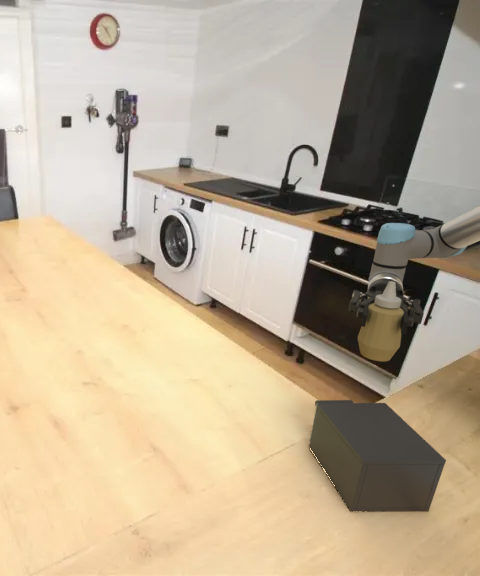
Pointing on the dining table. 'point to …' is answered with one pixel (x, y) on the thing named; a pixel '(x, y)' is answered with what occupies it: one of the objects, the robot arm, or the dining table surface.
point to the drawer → (330, 402)
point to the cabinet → (375, 457)
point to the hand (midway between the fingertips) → (384, 324)
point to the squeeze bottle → (382, 326)
